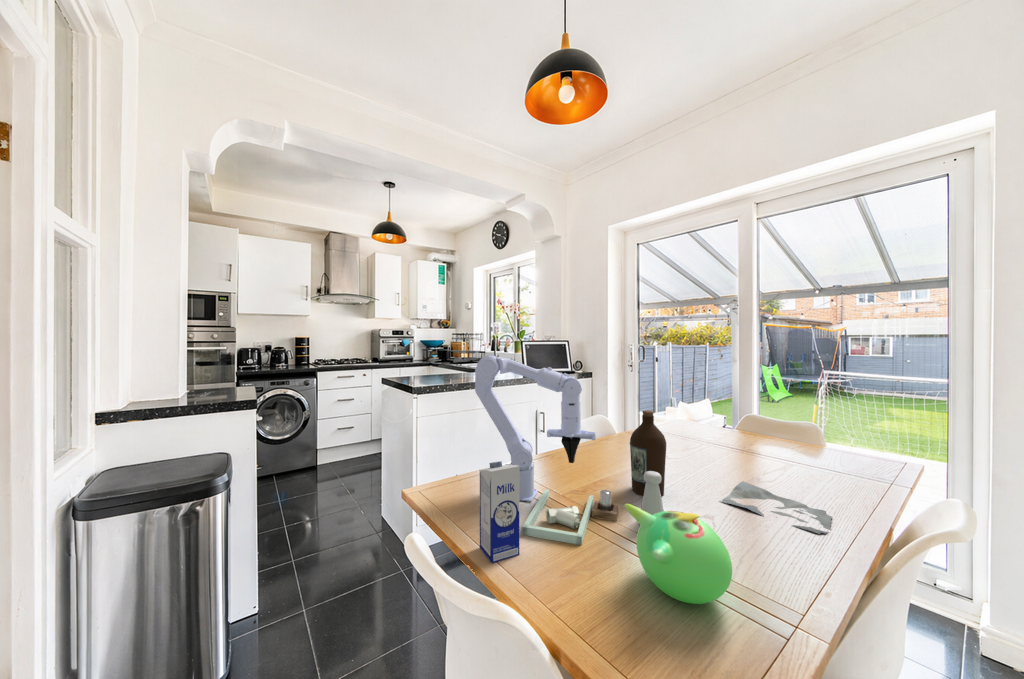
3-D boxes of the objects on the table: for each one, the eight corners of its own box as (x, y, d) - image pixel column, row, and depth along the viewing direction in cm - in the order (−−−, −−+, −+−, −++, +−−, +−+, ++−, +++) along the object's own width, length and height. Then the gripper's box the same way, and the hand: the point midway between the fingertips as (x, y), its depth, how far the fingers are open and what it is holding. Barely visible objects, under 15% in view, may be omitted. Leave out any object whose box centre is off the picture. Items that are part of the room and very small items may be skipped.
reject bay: (522, 534, 93) (522, 526, 93) (545, 495, 115) (545, 489, 115) (581, 545, 88) (581, 536, 88) (593, 502, 110) (593, 495, 110)
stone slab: (841, 523, 101) (842, 514, 101) (824, 545, 92) (825, 536, 92) (742, 487, 121) (742, 480, 120) (719, 503, 111) (719, 495, 111)
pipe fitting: (584, 531, 96) (574, 516, 102) (584, 516, 95) (575, 502, 102) (553, 534, 94) (546, 519, 101) (554, 519, 94) (546, 505, 100)
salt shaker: (664, 519, 101) (664, 470, 100) (665, 529, 95) (665, 478, 95) (640, 515, 102) (640, 467, 102) (640, 525, 97) (640, 475, 97)
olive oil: (648, 482, 125) (649, 406, 125) (674, 495, 115) (674, 413, 115) (622, 488, 121) (622, 409, 120) (646, 501, 111) (646, 416, 111)
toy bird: (753, 622, 65) (754, 536, 64) (657, 628, 63) (657, 541, 63) (694, 559, 83) (694, 492, 82) (618, 563, 81) (618, 495, 81)
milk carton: (491, 563, 81) (490, 470, 81) (478, 547, 87) (478, 461, 87) (520, 554, 84) (520, 465, 84) (506, 540, 90) (506, 456, 90)
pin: (600, 515, 103) (600, 493, 102) (600, 510, 105) (600, 489, 105) (610, 516, 102) (610, 494, 102) (611, 512, 104) (611, 490, 104)
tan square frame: (592, 517, 102) (592, 510, 102) (594, 506, 108) (594, 500, 108) (616, 521, 100) (616, 514, 100) (618, 510, 106) (618, 503, 106)
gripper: (544, 418, 113) (544, 464, 113) (593, 421, 108) (594, 468, 108) (549, 413, 120) (550, 456, 120) (596, 416, 115) (597, 460, 115)
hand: (571, 461), depth 115 cm, fingers closed
